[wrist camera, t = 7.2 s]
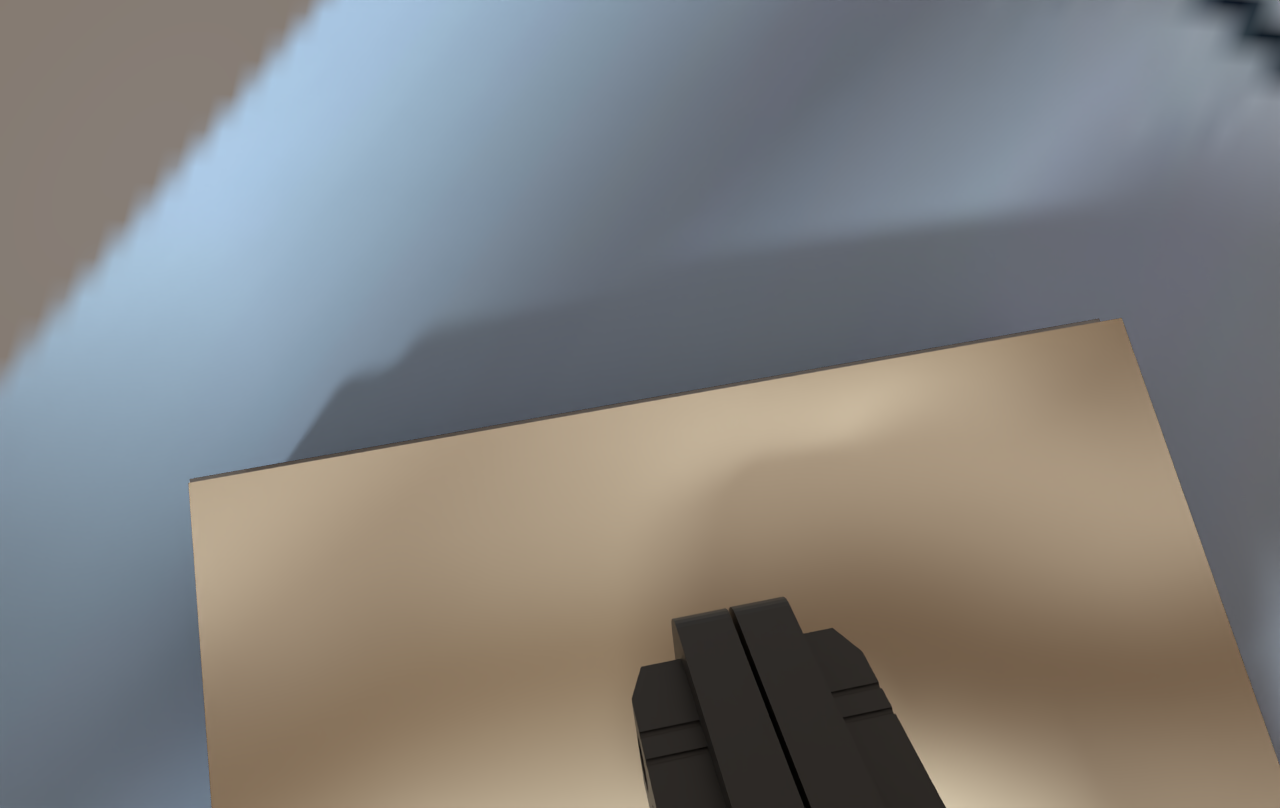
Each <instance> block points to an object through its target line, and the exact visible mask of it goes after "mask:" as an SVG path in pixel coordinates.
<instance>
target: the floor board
mask: <svg viewBox="0 0 1280 808" xmlns="http://www.w3.org/2000/svg"><path fill="white" fill-rule="evenodd" d="M1096 322H1100V320H1099V319H1094V320H1088V321H1083V322H1077V323H1071V324H1066V325H1060V326H1054V327H1049V328H1043V329H1037V330H1032V331H1026V332H1020V333H1015V334H1009V335H1003V336H998V337H992V338H986V339H981V340H975V341H969V342H964V343H958V344H952V345H947V346H941V347H935V348H930V349H924V350H918V351H913V352H907V353H901V354H896V355H890V356H884V357H879V358H873V359H867V360H862V361H856V362H850V363H845V364H839V365H833V366H828V367H822V368H816V369H811V370H805V371H799V372H794V373H788V374H782V375H777V376H771V377H765V378H760V379H754V380H748V381H743V382H737V383H731V384H726V385H720V386H714V387H709V388H703V389H697V390H692V391H686V392H680V393H675V394H669V395H663V396H658V397H652V398H646V399H641V400H635V401H629V402H624V403H618V404H612V405H607V406H601V407H595V408H590V409H584V410H578V411H573V412H567V413H561V414H556V415H550V416H544V417H539V418H533V419H527V420H522V421H516V422H510V423H505V424H499V425H493V426H488V427H482V428H476V429H471V430H465V431H459V432H454V433H448V434H442V435H437V436H431V437H425V438H420V439H414V440H408V441H403V442H397V443H391V444H386V445H380V446H374V447H369V448H363V449H357V450H352V451H346V452H340V453H335V454H329V455H323V456H318V457H312V458H306V459H301V460H295V461H289V462H284V463H278V464H272V465H267V466H261V467H255V468H250V469H244V470H238V471H233V472H227V473H221V474H216V475H210V476H204V477H199V478H193V479H190V483H191V482H197V481H202V480H208V479H214V478H219V477H225V476H231V475H236V474H242V473H248V472H253V471H259V470H265V469H270V468H276V467H282V466H287V465H293V464H298V463H304V462H310V461H315V460H321V459H327V458H332V457H338V456H344V455H349V454H355V453H361V452H366V451H372V450H378V449H383V448H389V447H395V446H400V445H406V444H412V443H417V442H423V441H429V440H434V439H440V438H446V437H451V436H457V435H463V434H468V433H474V432H479V431H485V430H491V429H496V428H502V427H508V426H513V425H519V424H525V423H530V422H536V421H542V420H547V419H553V418H559V417H564V416H570V415H576V414H581V413H587V412H593V411H598V410H604V409H610V408H615V407H621V406H627V405H632V404H638V403H643V402H649V401H655V400H660V399H666V398H672V397H677V396H683V395H689V394H694V393H700V392H706V391H711V390H717V389H723V388H728V387H734V386H740V385H745V384H751V383H757V382H762V381H768V380H774V379H779V378H785V377H791V376H796V375H802V374H808V373H813V372H819V371H824V370H830V369H836V368H841V367H847V366H853V365H858V364H864V363H870V362H875V361H881V360H887V359H892V358H898V357H904V356H909V355H915V354H921V353H926V352H932V351H938V350H943V349H949V348H955V347H960V346H966V345H972V344H977V343H983V342H988V341H994V340H1000V339H1005V338H1011V337H1017V336H1022V335H1028V334H1034V333H1039V332H1045V331H1051V330H1056V329H1062V328H1068V327H1073V326H1079V325H1085V324H1090V323H1096Z"/></svg>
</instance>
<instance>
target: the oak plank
mask: <svg viewBox="0 0 1280 808" xmlns="http://www.w3.org/2000/svg"><path fill="white" fill-rule="evenodd" d="M188 484H189V498H190V512H191V526H192V540H193V554H194V568H195V582H196V596H197V610H198V624H199V638H200V652H201V666H202V680H203V694H204V708H205V722H206V736H207V750H208V764H209V778H210V792H211V805H212V808H649V803H648V799H647V794H646V790H645V785H644V780H643V773H642V766H641V760H640V753H639V746H638V739H637V733H636V726H635V719H634V713H633V706H632V695H633V692H634V689H635V685H636V682H637V678H638V675H639V672H640V668H641V667H642V666H647V665H652V664H657V663H662V662H667V661H672V660H675V652H674V644H673V635H672V625H671V621H672V619H673V618H678V617H683V616H688V615H693V614H698V613H703V612H708V611H713V610H718V609H723V608H726V609H727V610H728V611H729V608H730V607H732V606H737V605H742V604H747V603H752V602H757V601H763V600H768V599H773V598H778V597H785V598H786V599H787V601H788V602H789V604H790V606H791V608H792V611H793V613H794V615H795V617H796V619H797V621H798V623H799V625H800V628H801V630H802V632H803V634H804V633H809V632H814V631H819V630H824V629H829V628H834V629H835V630H836V631H837V632H839V633H840V634H841V635H842V636H844V637H845V638H846V639H847V640H849V641H850V642H851V643H852V644H854V645H855V646H856V647H858V648H859V649H860V650H861V651H862V652H863V653H864V655H865V657H866V659H867V661H868V663H869V665H870V667H871V668H872V670H873V672H874V674H875V676H876V678H877V680H878V681H879V686H880V688H882V689H883V691H884V693H885V695H886V696H887V698H888V700H889V702H890V704H891V706H892V710H893V713H894V714H895V713H896V715H897V717H898V719H899V721H900V723H901V725H902V726H903V728H904V730H905V732H906V734H907V736H908V738H909V740H910V741H911V743H912V745H913V747H914V749H915V751H916V753H917V755H918V756H919V758H920V760H921V762H922V764H923V766H924V768H925V769H926V771H927V773H928V775H929V777H930V779H931V781H932V783H933V784H934V786H935V788H936V790H937V792H938V794H939V796H940V798H941V799H942V801H943V803H944V805H945V807H946V808H1280V765H1279V762H1278V759H1277V756H1276V754H1275V751H1274V748H1273V745H1272V742H1271V739H1270V737H1269V734H1268V731H1267V728H1266V725H1265V722H1264V720H1263V717H1262V714H1261V711H1260V708H1259V705H1258V703H1257V700H1256V697H1255V694H1254V691H1253V688H1252V686H1251V683H1250V680H1249V677H1248V674H1247V672H1246V669H1245V666H1244V663H1243V660H1242V657H1241V655H1240V652H1239V649H1238V646H1237V643H1236V640H1235V638H1234V635H1233V632H1232V629H1231V626H1230V623H1229V621H1228V618H1227V615H1226V612H1225V609H1224V606H1223V604H1222V601H1221V598H1220V595H1219V592H1218V589H1217V587H1216V584H1215V581H1214V578H1213V575H1212V572H1211V570H1210V567H1209V564H1208V561H1207V558H1206V555H1205V553H1204V550H1203V547H1202V544H1201V541H1200V538H1199V536H1198V533H1197V530H1196V527H1195V524H1194V521H1193V519H1192V516H1191V513H1190V510H1189V507H1188V504H1187V502H1186V499H1185V496H1184V493H1183V490H1182V487H1181V485H1180V482H1179V479H1178V476H1177V473H1176V470H1175V468H1174V465H1173V462H1172V459H1171V456H1170V453H1169V451H1168V448H1167V445H1166V442H1165V439H1164V437H1163V434H1162V431H1161V428H1160V425H1159V422H1158V420H1157V417H1156V414H1155V411H1154V408H1153V405H1152V403H1151V400H1150V397H1149V394H1148V391H1147V388H1146V386H1145V383H1144V380H1143V377H1142V374H1141V371H1140V369H1139V366H1138V363H1137V360H1136V357H1135V354H1134V352H1133V349H1132V346H1131V343H1130V340H1129V337H1128V335H1127V332H1126V329H1125V326H1124V323H1123V320H1122V318H1119V319H1113V320H1107V321H1102V322H1096V323H1090V324H1085V325H1079V326H1073V327H1068V328H1062V329H1056V330H1051V331H1045V332H1039V333H1034V334H1028V335H1022V336H1017V337H1011V338H1005V339H1000V340H994V341H988V342H983V343H977V344H972V345H966V346H960V347H955V348H949V349H943V350H938V351H932V352H926V353H921V354H915V355H909V356H904V357H898V358H892V359H887V360H881V361H875V362H870V363H864V364H858V365H853V366H847V367H841V368H836V369H830V370H824V371H819V372H813V373H808V374H802V375H796V376H791V377H785V378H779V379H774V380H768V381H762V382H757V383H751V384H745V385H740V386H734V387H728V388H723V389H717V390H711V391H706V392H700V393H694V394H689V395H683V396H677V397H672V398H666V399H660V400H655V401H649V402H643V403H638V404H632V405H627V406H621V407H615V408H610V409H604V410H598V411H593V412H587V413H581V414H576V415H570V416H564V417H559V418H553V419H547V420H542V421H536V422H530V423H525V424H519V425H513V426H508V427H502V428H496V429H491V430H485V431H479V432H474V433H468V434H463V435H457V436H451V437H446V438H440V439H434V440H429V441H423V442H417V443H412V444H406V445H400V446H395V447H389V448H383V449H378V450H372V451H366V452H361V453H355V454H349V455H344V456H338V457H332V458H327V459H321V460H315V461H310V462H304V463H298V464H293V465H287V466H282V467H276V468H270V469H265V470H259V471H253V472H248V473H242V474H236V475H231V476H225V477H219V478H214V479H208V480H202V481H197V482H191V483H188Z"/></svg>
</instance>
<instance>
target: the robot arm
mask: <svg viewBox="0 0 1280 808" xmlns="http://www.w3.org/2000/svg"><path fill="white" fill-rule="evenodd" d="M671 625H672V635H673V644H674V652H675V660H672V661H667V662H662V663H657V664H652V665H647V666H642V667H641V668H640V672H639V675H638V678H637V682H636V685H635V689H634V692H633V695H632V706H633V713H634V719H635V726H636V733H637V739H638V746H639V753H640V760H641V766H642V773H643V780H644V785H645V790H646V794H647V799H648V803H649V808H946V807H945V805H944V803H943V801H942V799H941V798H940V796H939V794H938V792H937V790H936V788H935V786H934V784H933V783H932V781H931V779H930V777H929V775H928V773H927V771H926V769H925V768H924V766H923V764H922V762H921V760H920V758H919V756H918V755H917V753H916V751H915V749H914V747H913V745H912V743H911V741H910V740H909V738H908V736H907V734H906V732H905V730H904V728H903V726H902V725H901V723H900V721H899V719H898V717H897V715H896V713H895V714H894V713H893V710H892V706H891V704H890V702H889V700H888V698H887V696H886V695H885V693H884V691H883V689H882V688H880V686H879V681H878V680H877V678H876V676H875V674H874V672H873V670H872V668H871V667H870V665H869V663H868V661H867V659H866V657H865V655H864V653H863V652H862V651H861V650H860V649H859V648H858V647H856V646H855V645H854V644H852V643H851V642H850V641H849V640H847V639H846V638H845V637H844V636H842V635H841V634H840V633H839V632H837V631H836V630H835V629H834V628H829V629H824V630H819V631H814V632H809V633H804V634H803V632H802V630H801V628H800V625H799V623H798V621H797V619H796V617H795V615H794V613H793V611H792V608H791V606H790V604H789V602H788V601H787V599H786V598H785V597H778V598H773V599H768V600H763V601H757V602H752V603H747V604H742V605H737V606H732V607H730V608H729V611H728V610H727V609H726V608H723V609H718V610H713V611H708V612H703V613H698V614H693V615H688V616H683V617H678V618H673V619H672V621H671Z"/></svg>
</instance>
